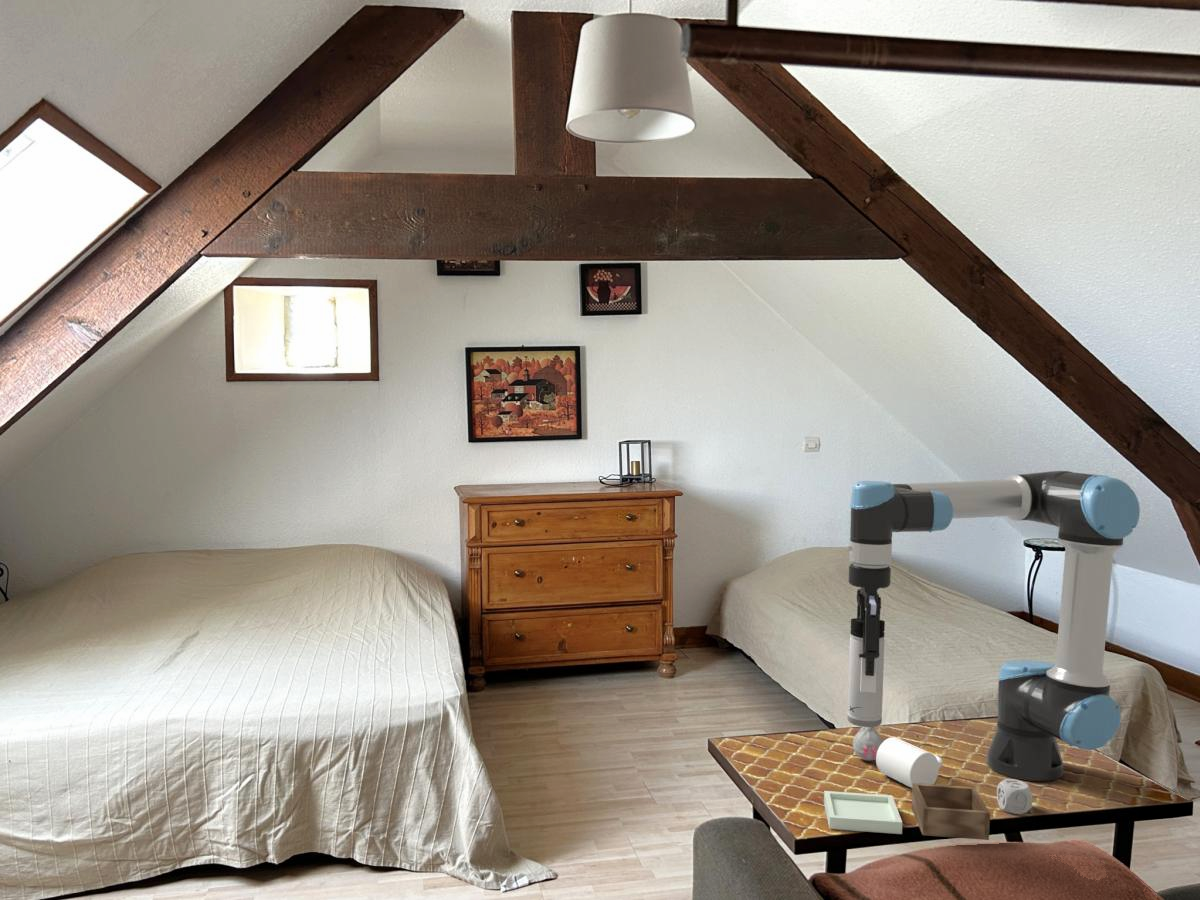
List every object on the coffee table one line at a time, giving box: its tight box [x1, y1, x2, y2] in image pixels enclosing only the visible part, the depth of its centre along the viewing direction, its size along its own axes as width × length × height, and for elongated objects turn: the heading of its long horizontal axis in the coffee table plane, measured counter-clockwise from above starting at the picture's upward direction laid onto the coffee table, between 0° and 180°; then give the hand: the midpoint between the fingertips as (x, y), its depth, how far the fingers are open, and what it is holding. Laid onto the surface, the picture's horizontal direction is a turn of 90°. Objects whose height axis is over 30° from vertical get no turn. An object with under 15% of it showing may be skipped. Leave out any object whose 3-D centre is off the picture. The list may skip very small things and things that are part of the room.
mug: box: [875, 736, 944, 789], centre depth 207 cm, size 12×10×8 cm
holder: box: [911, 783, 991, 841], centre depth 187 cm, size 12×12×5 cm
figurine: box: [852, 726, 884, 762], centre depth 218 cm, size 6×7×8 cm
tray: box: [823, 790, 903, 835], centre depth 189 cm, size 13×12×2 cm
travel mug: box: [847, 617, 886, 728], centre depth 187 cm, size 6×7×20 cm
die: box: [996, 778, 1033, 815], centre depth 194 cm, size 5×5×5 cm
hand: (865, 685), depth 188 cm, fingers closed on travel mug, 6 cm apart
